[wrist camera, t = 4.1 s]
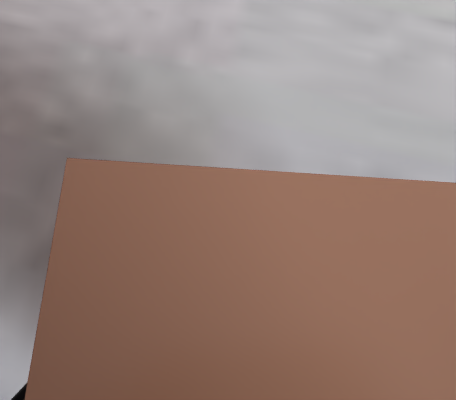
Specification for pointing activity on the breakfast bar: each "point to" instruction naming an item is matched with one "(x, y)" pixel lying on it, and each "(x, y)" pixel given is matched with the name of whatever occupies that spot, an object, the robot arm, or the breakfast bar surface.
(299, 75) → the breakfast bar surface
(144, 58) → the breakfast bar surface
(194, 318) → the pillar
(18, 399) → the robot arm
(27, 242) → the breakfast bar surface
